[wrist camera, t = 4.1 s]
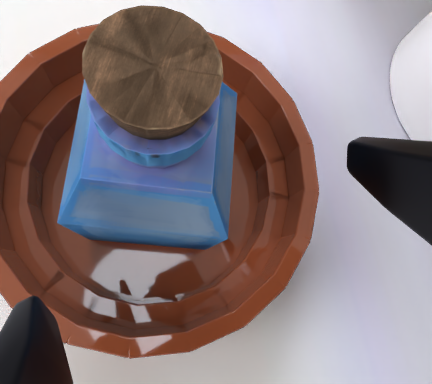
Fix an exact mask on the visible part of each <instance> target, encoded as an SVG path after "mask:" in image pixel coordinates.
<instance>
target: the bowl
mask: <svg viewBox="0 0 432 384" xmlns="http://www.w3.org/2000/svg"><path fill="white" fill-rule="evenodd" d="M98 25H99V24H95V25H91V26H86V27H81V28H77V30H76V29H74V30H72V31H70V32H68V33H66V34H64V35H62V36H60V37H58V38H56V39H55V40H53V41H51V42H49V43H47V44H45V45H43V46H41V47H39V48H37V49H36V50H34V51H32V52H30V53H29V54H27V55H26V56H25V57H24V58H23V59H22V60H21V61H20V62H19V63H18V64H17V65H16V66H15V67H14V68H13V69H12V70H11V71H10V72H9V73H8V74H7V75H6V76H5V77H4V78H3V79H2V80H1V81H0V293H1V295H2V296H3V298H4V299H5V300H6V302H7V303H8V304H9V306H10V307H11V308H14V306H15V305H16V304H17V303H18V302H20V301H22V300H24V299H26V298H28V297H30V296H37V297H39V298H40V299H41V301H42V302H43V303H44V304H45V305H46V307H47V308H48V309H49V310H50V311H51V313H52V314H53V315H54V317H55V318H56V320H57V323H58V326H59V330H60V334H61V338H62V342H63V343H67V344H69V345H73V346H77V347H81V348H86V349H90V350H94V351H99V352H103V353H107V354H112V355H116V356H120V357H124V358H128V357H129V358H130V359H131V358H140V357H149V356H158V355H167V354H177V353H186V352H191V351H194V350H196V349H198V348H200V347H203V346H205V345H207V344H209V343H211V342H213V341H215V340H218V339H220V338H222V337H224V336H226V335H228V334H230V333H233V332H235V331H237V330H239V329H241V328H243V327H244V326H246V325H247V324H249V323H250V322H251V321H252V320H253V319H254V318H255V317H256V316H257V315H258V314H259V313H260V312H261V311H262V310H263V309H264V308H265V307H266V306H267V305H268V304H270V303H271V302H272V301H273V300H274V299H275V298H276V297H277V296H278V295H279V294H280V293H281V292H282V291H283V290H284V289H285V288H286V286H287V285H288V283H289V281H290V279H291V277H292V275H293V273H294V271H295V270H296V268H297V266H298V264H299V262H300V260H301V258H302V256H303V254H304V253H305V251H306V249H307V247H308V245H309V243H310V240H311V236H312V231H313V225H314V219H315V213H316V208H317V202H318V196H319V184H318V177H317V170H316V162H315V155H314V147H313V144H312V140H311V138H310V135H309V133H308V131H307V129H306V127H305V125H304V122H303V120H302V118H301V116H300V114H299V111H298V109H297V107H296V105H295V103H294V101H292V100H293V99H292V98H291V97H290V95H289V94H288V93H287V92H286V91H285V90H284V88H283V87H282V86H281V85H280V84H279V83H278V81H277V80H276V79H275V78H274V77H273V76H272V74H271V73H270V72H269V71H268V70H267V69H266V67H265V66H264V65H262V63H261V62H259V61H258V60H256V59H255V58H253V57H252V56H250V55H249V54H247V53H246V52H244V51H243V50H242V49H240V48H239V47H237V46H236V45H234V44H233V43H231V42H230V41H228V40H227V39H225V38H224V37H223V38H222V37H221V36H218V35H215V34H212V33H209V32H207V33H208V34H209V35H210V36H211V37H212V38H213V40H214V42H215V44H216V46H217V48H218V50H219V53H220V55H221V57H222V66H223V80H222V82H223V83H224V84H226V85H227V86H228V87H230V88H231V89H232V90H233V91H235V92H236V93H237V106H236V121H235V137H234V152H233V168H232V183H231V198H230V214H229V229H228V239H227V240H225V241H223V242H221V243H218V244H216V245H214V246H212V247H210V248H208V249H206V250H202V249H191V248H179V247H168V246H157V245H145V244H134V243H122V242H111V241H100V240H89V239H87V238H86V237H84V236H82V235H80V234H78V233H76V232H74V231H72V230H70V229H68V228H66V227H64V226H62V225H60V224H58V223H57V221H58V216H59V211H60V205H61V200H62V195H63V189H64V184H65V179H66V174H67V168H68V163H69V158H70V152H71V147H72V142H73V137H74V131H75V126H76V121H77V115H78V110H79V105H80V100H81V94H82V89H83V84H84V76H83V74H82V53H83V50H84V48H85V45H86V43H87V40H88V38H89V35H90V34H91V33H92V32H93V31H94V29H95V28H96V27H97V26H98Z"/></svg>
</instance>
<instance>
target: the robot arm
mask: <svg viewBox="0 0 432 384" xmlns="http://www.w3.org/2000/svg"><path fill="white" fill-rule="evenodd" d="M347 169H348V171H349V173H350V174H351V175H352V176H353V177H354V178H355V179H356V180H357V181H358V182H359V183H360V184H361V185H362V186H363V187H364V188H365V189H366V190H367V191H368V192H369V193H370V194H371V195H372V196H373V197H374V198H375V199H377V200H378V201H379V202H380V203H381V204H382V205H383V206H384V207H385V208H386V209H387V210H388V211H390V212H391V213H392V214H393V215H395V216H396V217H397V218H398V219H400V220H401V221H402V222H403V223H405V224H406V225H407V226H408V227H409V228H411V229H412V230H413V231H414V232H416V233H417V234H418V235H419V236H421V237H422V238H423V239H424V240H426V241H427V242H428V243H429V244H431V245H432V141H419V140H404V139H389V138H375V137H359V138H357V139H355V140H353V141H351V142H350V143H349V144H348V147H347ZM0 384H73V380H72V376H71V372H70V368H69V364H68V361H67V357H66V353H65V349H64V345H63V342H62V338H61V334H60V330H59V326H58V323H57V320H56V318H55V317H54V315H53V314H52V313H51V311H50V310H49V309H48V308H47V307H46V305H45V304H44V303H43V302H42V301H41V299H40V298H39V297H37V296H30V297H28V298H26V299H24V300H22V301H20V302H18V303H17V304H16V305H15V306H14V308H13V310H12V311H11V313H10V315H9V317H8V319H7V321H6V322H5V324H4V326H3V328H2V330H1V331H0Z"/></svg>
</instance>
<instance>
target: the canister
mask: <svg viewBox="0 0 432 384" xmlns="http://www.w3.org/2000/svg"><path fill="white" fill-rule="evenodd" d="M390 90H391V96H392V100H393V104H394V107H395V110H396V113H397V115H398V118H399V120H400V122H401V124H402V126H403V128H404V129H405V131H406V133H407V134H408V136H409V137H410V139H411V140H419V141H432V11H431V12H430V13H429V14H428V15H427V16H426V17H425V18H424V19H423V20H422V21H421V22H419V23H418V24H417V25H416V26H415V27H414V28H413V29H412V30H411V31H410V32H409V33H408V34H407V35H406V36H405V37H404V38H403V39H402V41H401V42H400V43H399V45H398V47H397V49H396V51H395V53H394V56H393V59H392V63H391V68H390Z"/></svg>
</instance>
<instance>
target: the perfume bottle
mask: <svg viewBox="0 0 432 384" xmlns="http://www.w3.org/2000/svg"><path fill="white" fill-rule="evenodd" d="M82 74H83V76H84V84H83V89H82V94H81V100H80V105H79V110H78V115H77V121H76V126H75V131H74V137H73V142H72V147H71V152H70V158H69V163H68V168H67V174H66V179H65V184H64V189H63V195H62V200H61V205H60V211H59V216H58V221H57V223H58V224H60V225H62V226H64V227H66V228H68V229H70V230H72V231H74V232H76V233H78V234H80V235H82V236H84V237H86V238H87V239H89V240H100V241H111V242H122V243H134V244H145V245H157V246H168V247H179V248H191V249H202V250H206V249H208V248H210V247H212V246H214V245H216V244H218V243H221V242H223V241H225V240H227V239H228V229H229V214H230V198H231V183H232V168H233V152H234V137H235V121H236V106H237V93H236V92H235V91H233V90H232V89H231V88H230V87H228V86H227V85H226V84H224V83H223V82H222V80H223V66H222V57H221V55H220V53H219V50H218V48H217V46H216V44H215V42H214V40H213V38H212V37H211V36H210V35H209V34H208V33H207V32H206V30H205V29H204V28H203V27H202V26H201V25H200V24H199V23H197V22H195V21H194V20H192V19H191V18H189V17H188V16H186V15H185V14H183V13H180V12H177V11H174V10H171V9H168V8H165V7H158V6H137V7H133V8H128V9H123V10H120V11H118V12H117V13H115V14H113V15H111V16H109V17H107V18H106V19H104V20H103V21H102V22H101V23H100V24H99V25H98V26H97V27H96V28H95V29H94V31H93V32H92V33H91V34H90V35H89V38H88V40H87V43H86V45H85V48H84V50H83V53H82Z"/></svg>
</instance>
